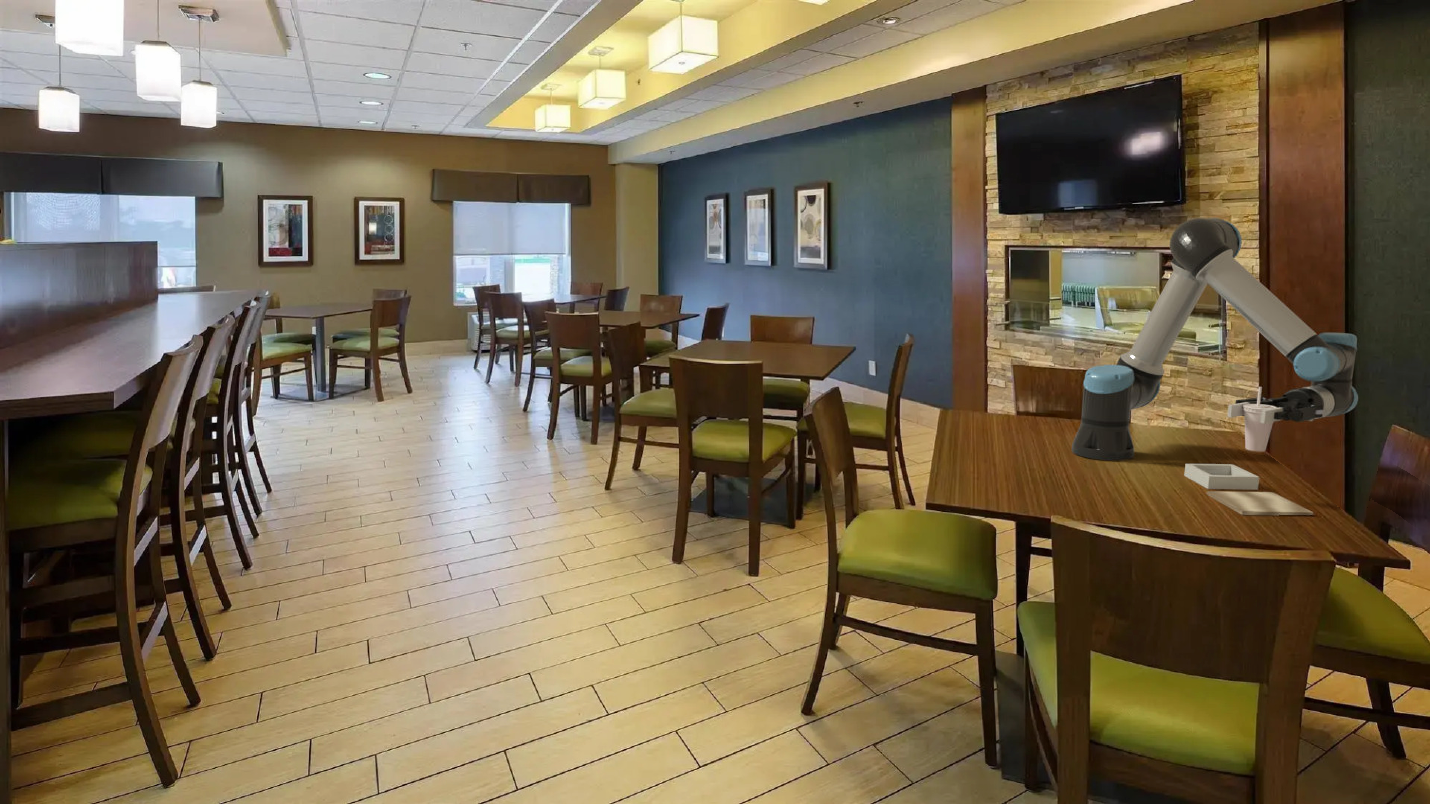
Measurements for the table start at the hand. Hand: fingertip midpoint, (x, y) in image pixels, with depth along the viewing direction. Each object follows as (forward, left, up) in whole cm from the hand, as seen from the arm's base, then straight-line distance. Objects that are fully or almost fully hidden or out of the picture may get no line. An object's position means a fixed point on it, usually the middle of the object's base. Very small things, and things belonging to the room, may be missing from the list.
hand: (1246, 414), depth 175 cm
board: (+3, -4, -19) cm, 20 cm away
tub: (+4, +13, -19) cm, 24 cm away
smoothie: (+4, +3, -9) cm, 10 cm away
